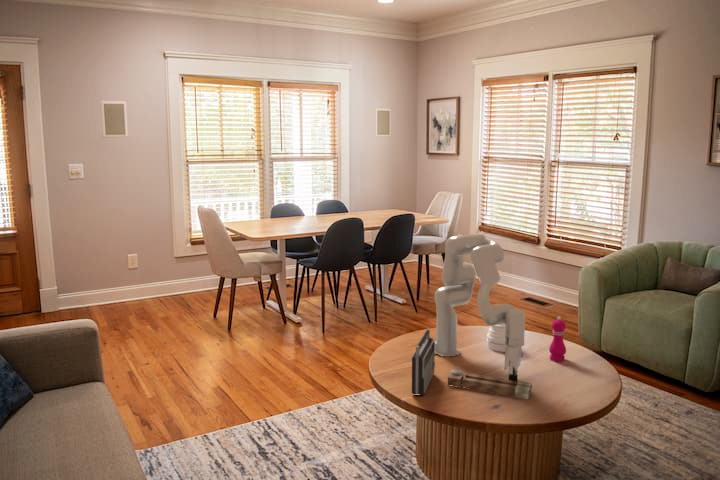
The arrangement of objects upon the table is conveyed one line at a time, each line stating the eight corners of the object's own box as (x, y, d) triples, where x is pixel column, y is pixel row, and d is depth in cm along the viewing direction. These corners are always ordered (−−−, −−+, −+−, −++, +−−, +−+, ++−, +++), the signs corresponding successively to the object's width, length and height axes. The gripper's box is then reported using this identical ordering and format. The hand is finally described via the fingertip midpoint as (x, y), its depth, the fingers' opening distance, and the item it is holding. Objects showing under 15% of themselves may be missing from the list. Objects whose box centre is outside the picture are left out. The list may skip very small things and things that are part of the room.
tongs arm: (464, 383, 246) (465, 374, 246) (467, 380, 249) (467, 372, 248) (529, 395, 235) (530, 385, 234) (531, 392, 238) (531, 383, 237)
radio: (425, 397, 235) (425, 348, 231) (411, 395, 236) (412, 347, 233) (436, 373, 258) (436, 328, 254) (423, 372, 259) (424, 327, 256)
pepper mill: (563, 356, 275) (565, 314, 272) (567, 362, 268) (569, 319, 265) (547, 356, 276) (549, 314, 272) (550, 362, 269) (552, 319, 265)
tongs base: (446, 385, 246) (446, 376, 245) (452, 377, 253) (452, 368, 252) (528, 399, 232) (528, 389, 231) (531, 391, 239) (532, 382, 238)
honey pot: (485, 341, 296) (486, 306, 293) (512, 342, 294) (513, 307, 291) (487, 351, 284) (488, 314, 281) (515, 352, 282) (516, 314, 279)
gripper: (508, 333, 247) (507, 376, 250) (500, 345, 234) (499, 389, 237) (527, 336, 244) (525, 379, 247) (520, 347, 231) (518, 393, 234)
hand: (512, 384), depth 242 cm, fingers closed
